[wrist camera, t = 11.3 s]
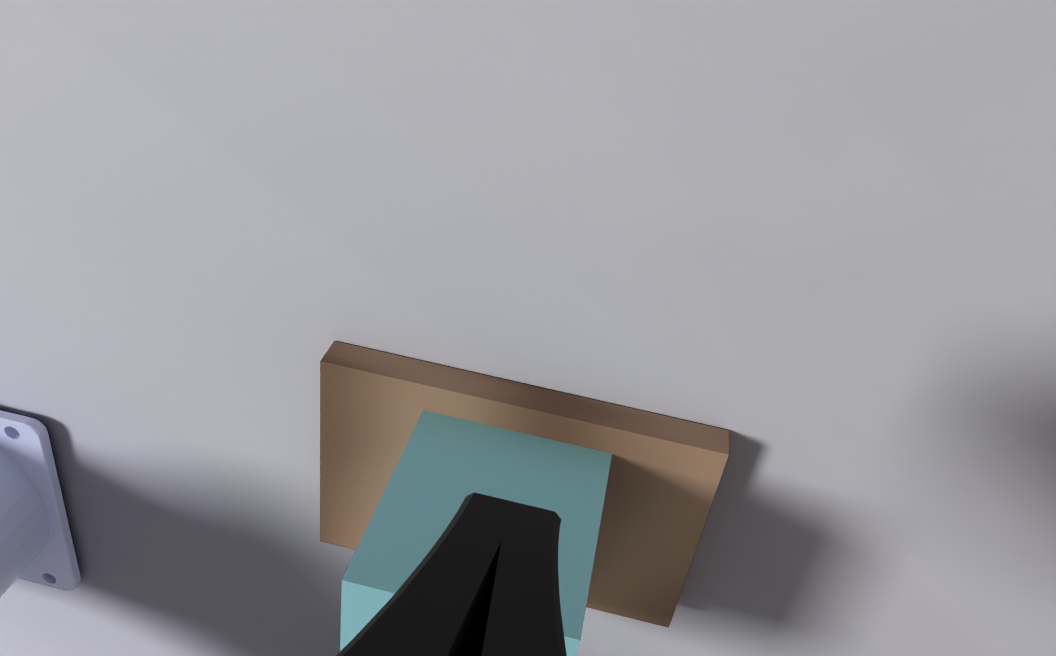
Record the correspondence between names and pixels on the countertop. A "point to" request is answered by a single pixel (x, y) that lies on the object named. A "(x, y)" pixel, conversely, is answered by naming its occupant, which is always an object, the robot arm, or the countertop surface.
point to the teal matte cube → (440, 488)
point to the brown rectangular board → (628, 434)
